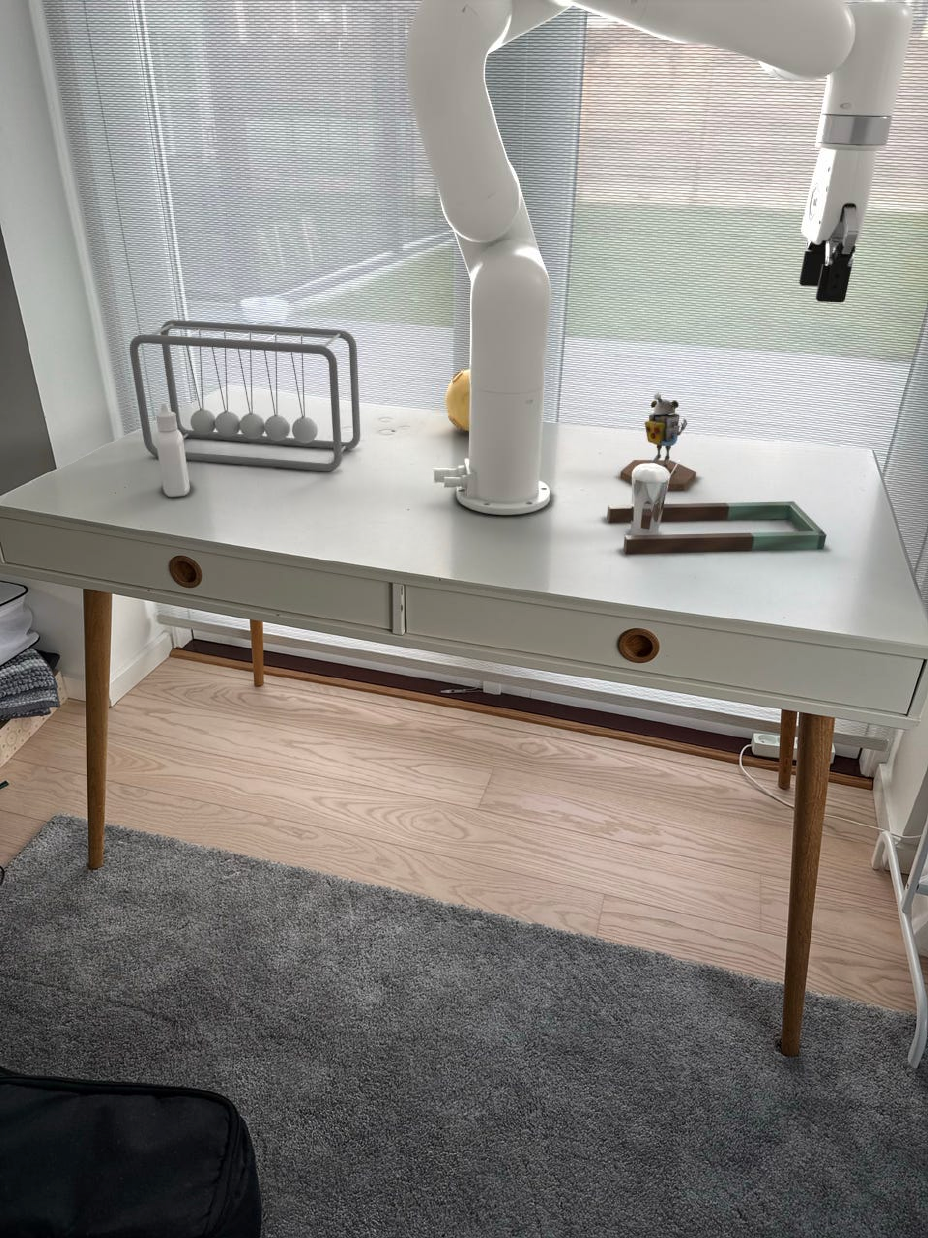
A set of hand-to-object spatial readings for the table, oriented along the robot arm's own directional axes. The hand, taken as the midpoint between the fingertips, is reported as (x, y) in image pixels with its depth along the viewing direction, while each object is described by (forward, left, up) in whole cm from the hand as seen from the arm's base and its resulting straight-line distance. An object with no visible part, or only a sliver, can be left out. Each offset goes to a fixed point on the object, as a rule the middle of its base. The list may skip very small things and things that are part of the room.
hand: (820, 293), depth 114 cm
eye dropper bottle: (-81, +9, -27) cm, 86 cm away
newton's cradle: (-72, +23, -27) cm, 80 cm away
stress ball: (-38, +32, -27) cm, 57 cm away
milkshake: (-21, -9, -27) cm, 36 cm away
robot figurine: (-14, +10, -27) cm, 32 cm away
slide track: (-12, -9, -27) cm, 31 cm away
